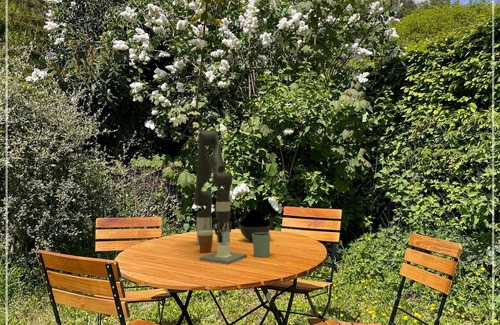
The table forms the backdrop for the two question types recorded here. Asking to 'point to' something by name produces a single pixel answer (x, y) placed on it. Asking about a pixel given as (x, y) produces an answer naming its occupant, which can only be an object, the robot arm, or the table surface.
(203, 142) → the robot arm
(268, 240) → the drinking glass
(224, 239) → the blue grey block
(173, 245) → the table surface
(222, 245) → the cream block
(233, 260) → the board
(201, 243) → the disposable coffee cup
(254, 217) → the coal bowl
